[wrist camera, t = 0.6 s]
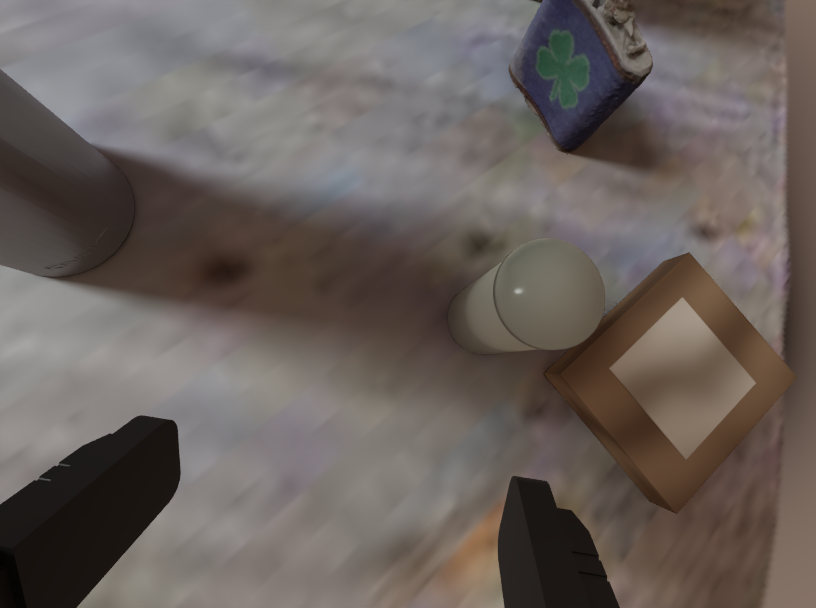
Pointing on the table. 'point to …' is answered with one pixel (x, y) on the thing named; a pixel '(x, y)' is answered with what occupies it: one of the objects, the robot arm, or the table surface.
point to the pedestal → (672, 380)
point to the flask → (579, 65)
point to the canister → (530, 301)
